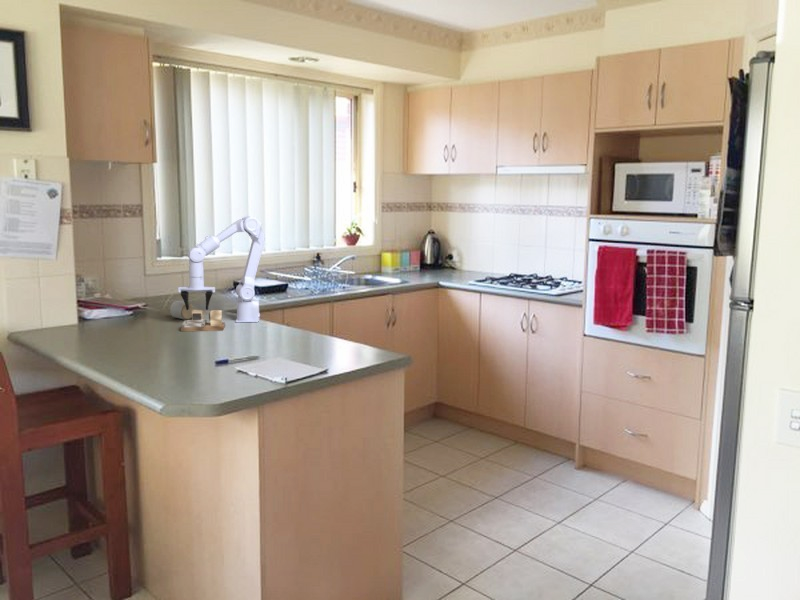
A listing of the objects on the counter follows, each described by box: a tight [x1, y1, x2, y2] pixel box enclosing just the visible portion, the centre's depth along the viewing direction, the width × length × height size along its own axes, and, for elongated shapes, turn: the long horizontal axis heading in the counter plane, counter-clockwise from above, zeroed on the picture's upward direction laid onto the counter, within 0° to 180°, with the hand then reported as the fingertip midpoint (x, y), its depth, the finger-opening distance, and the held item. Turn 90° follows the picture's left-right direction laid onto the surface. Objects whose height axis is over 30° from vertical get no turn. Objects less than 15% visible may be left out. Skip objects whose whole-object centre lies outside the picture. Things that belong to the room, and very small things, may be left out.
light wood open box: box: [180, 309, 226, 332], centre depth 271 cm, size 16×9×7 cm, turn 99°
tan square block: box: [191, 309, 204, 320], centre depth 280 cm, size 5×4×6 cm
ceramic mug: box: [169, 299, 196, 321], centre depth 291 cm, size 11×8×8 cm
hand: (197, 309), depth 280 cm, fingers open, 7 cm apart
